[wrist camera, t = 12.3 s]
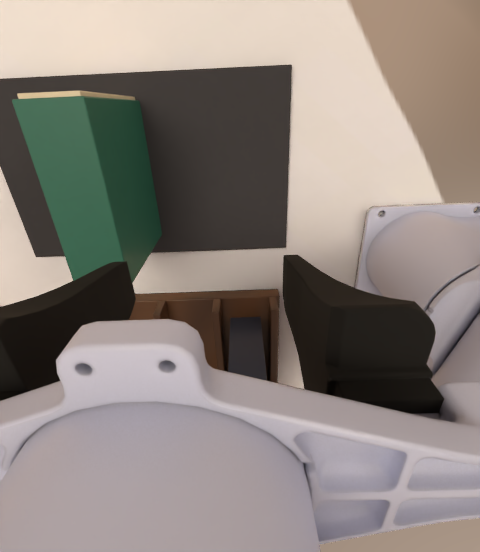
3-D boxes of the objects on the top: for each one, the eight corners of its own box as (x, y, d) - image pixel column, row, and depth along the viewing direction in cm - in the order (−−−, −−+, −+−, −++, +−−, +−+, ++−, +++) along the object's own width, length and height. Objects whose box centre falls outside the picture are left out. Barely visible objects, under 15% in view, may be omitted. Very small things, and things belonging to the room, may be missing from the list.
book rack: (277, 288, 27) (289, 344, 20) (275, 386, 32) (284, 454, 26) (105, 294, 27) (64, 352, 21) (133, 391, 33) (108, 459, 26)
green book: (138, 96, 19) (82, 90, 12) (162, 234, 24) (130, 287, 17) (91, 98, 19) (8, 93, 12) (123, 235, 24) (75, 289, 17)
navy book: (260, 316, 27) (266, 379, 20) (261, 382, 30) (266, 452, 24) (230, 317, 27) (227, 380, 20) (234, 383, 30) (233, 453, 24)
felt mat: (290, 65, 19) (291, 64, 19) (285, 245, 25) (285, 247, 24) (-29, 80, 19) (-34, 80, 19) (38, 255, 25) (35, 257, 25)
